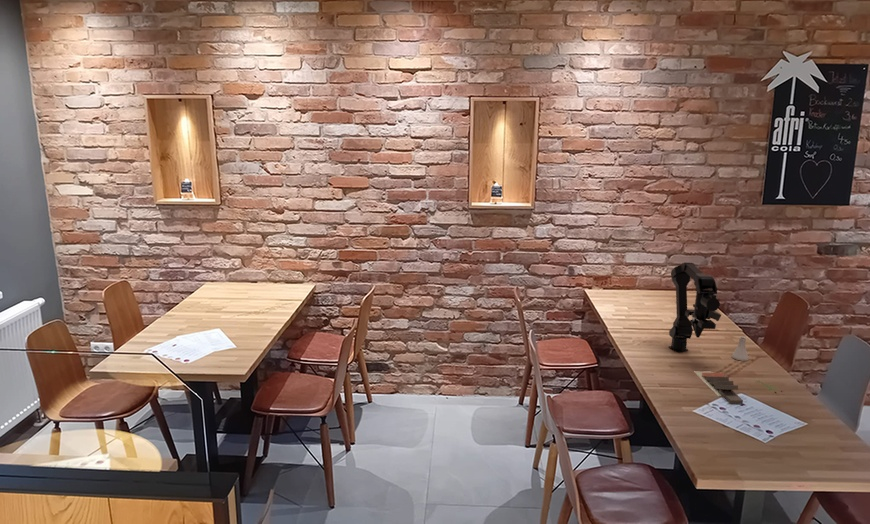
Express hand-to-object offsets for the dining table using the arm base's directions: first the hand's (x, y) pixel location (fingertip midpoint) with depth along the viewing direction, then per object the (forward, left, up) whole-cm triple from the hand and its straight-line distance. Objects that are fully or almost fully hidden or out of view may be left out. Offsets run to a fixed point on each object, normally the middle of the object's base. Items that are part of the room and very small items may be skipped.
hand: (697, 337), depth 291 cm
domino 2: (+17, -6, -12) cm, 21 cm away
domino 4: (+24, -9, -12) cm, 29 cm away
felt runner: (+20, -7, -13) cm, 25 cm away
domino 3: (+21, -8, -12) cm, 25 cm away
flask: (+1, +26, -13) cm, 29 cm away
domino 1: (+13, -5, -12) cm, 18 cm away
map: (+33, +10, -14) cm, 37 cm away
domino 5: (+28, -10, -12) cm, 32 cm away
